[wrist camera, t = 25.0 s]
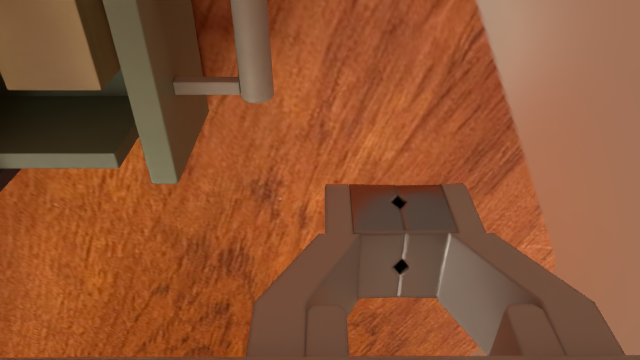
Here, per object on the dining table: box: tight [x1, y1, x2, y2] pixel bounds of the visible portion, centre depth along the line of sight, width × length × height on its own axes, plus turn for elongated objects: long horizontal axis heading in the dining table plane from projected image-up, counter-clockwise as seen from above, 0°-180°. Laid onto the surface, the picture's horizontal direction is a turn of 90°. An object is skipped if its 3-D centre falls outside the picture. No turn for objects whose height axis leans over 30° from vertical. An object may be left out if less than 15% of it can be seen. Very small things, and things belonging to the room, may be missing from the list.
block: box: [0, 0, 121, 90], centre depth 20 cm, size 4×4×4 cm
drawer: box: [0, 0, 274, 184], centre depth 20 cm, size 17×11×7 cm
